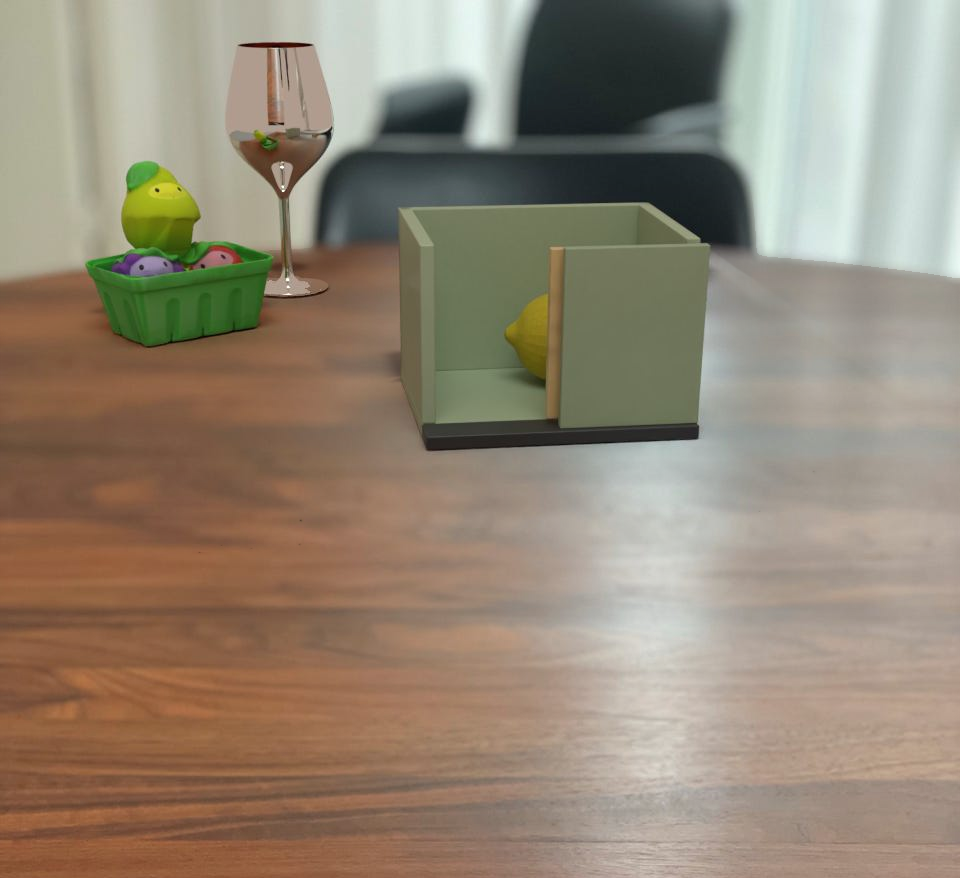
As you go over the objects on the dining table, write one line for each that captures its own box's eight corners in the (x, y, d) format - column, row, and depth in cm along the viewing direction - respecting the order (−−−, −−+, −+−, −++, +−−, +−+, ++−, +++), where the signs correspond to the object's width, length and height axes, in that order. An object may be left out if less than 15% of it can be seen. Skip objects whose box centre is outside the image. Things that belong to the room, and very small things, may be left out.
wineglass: (215, 288, 119) (197, 44, 111) (296, 272, 124) (284, 39, 116) (279, 305, 114) (266, 51, 106) (361, 288, 119) (353, 45, 111)
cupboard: (639, 372, 98) (648, 202, 93) (698, 439, 85) (712, 246, 81) (401, 381, 95) (398, 207, 91) (426, 450, 83) (424, 253, 78)
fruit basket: (138, 354, 101) (122, 181, 96) (80, 329, 107) (61, 164, 102) (282, 328, 107) (274, 165, 102) (219, 306, 113) (208, 150, 108)
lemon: (503, 385, 89) (636, 393, 90) (510, 291, 88) (645, 299, 88) (497, 373, 95) (623, 380, 95) (504, 283, 93) (631, 291, 93)
